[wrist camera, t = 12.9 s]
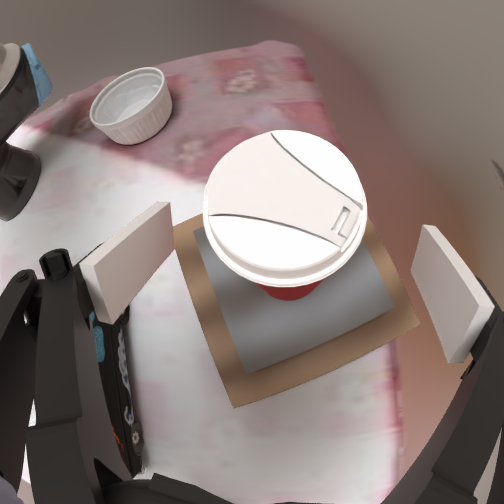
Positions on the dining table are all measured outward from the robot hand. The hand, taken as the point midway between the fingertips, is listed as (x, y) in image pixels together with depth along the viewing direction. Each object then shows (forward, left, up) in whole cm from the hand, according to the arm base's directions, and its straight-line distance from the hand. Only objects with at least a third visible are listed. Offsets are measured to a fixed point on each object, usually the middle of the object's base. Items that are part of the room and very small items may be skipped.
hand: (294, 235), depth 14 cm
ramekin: (-35, -11, -19) cm, 41 cm away
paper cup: (-1, 0, -11) cm, 12 cm away
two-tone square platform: (-1, 0, -18) cm, 18 cm away
